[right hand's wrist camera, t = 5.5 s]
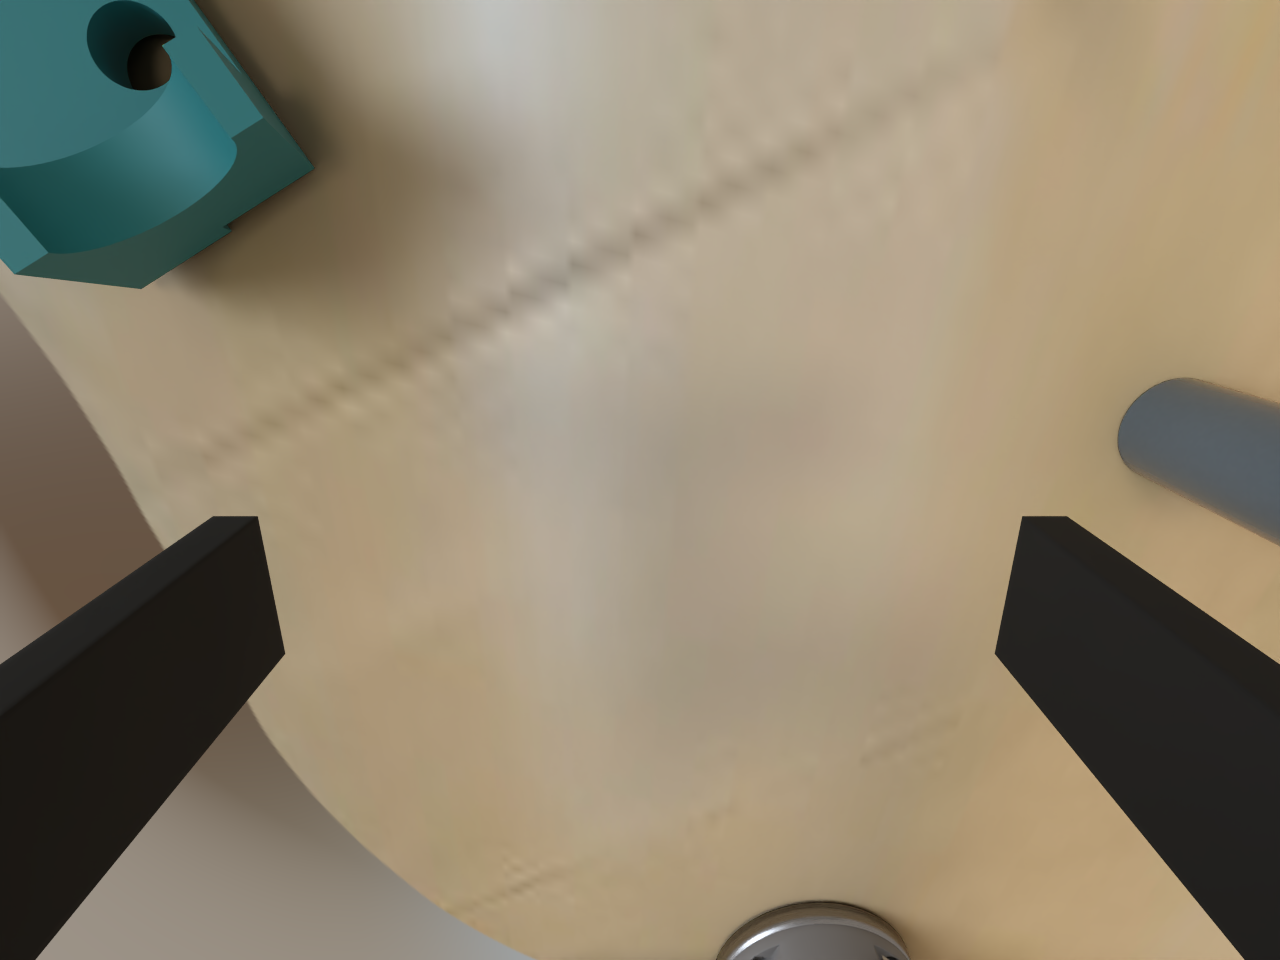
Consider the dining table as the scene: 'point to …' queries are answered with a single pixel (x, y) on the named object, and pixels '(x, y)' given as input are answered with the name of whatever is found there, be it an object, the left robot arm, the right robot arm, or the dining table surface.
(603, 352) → the dining table surface
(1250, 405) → the bottle
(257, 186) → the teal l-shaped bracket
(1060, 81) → the dining table surface
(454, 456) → the dining table surface
